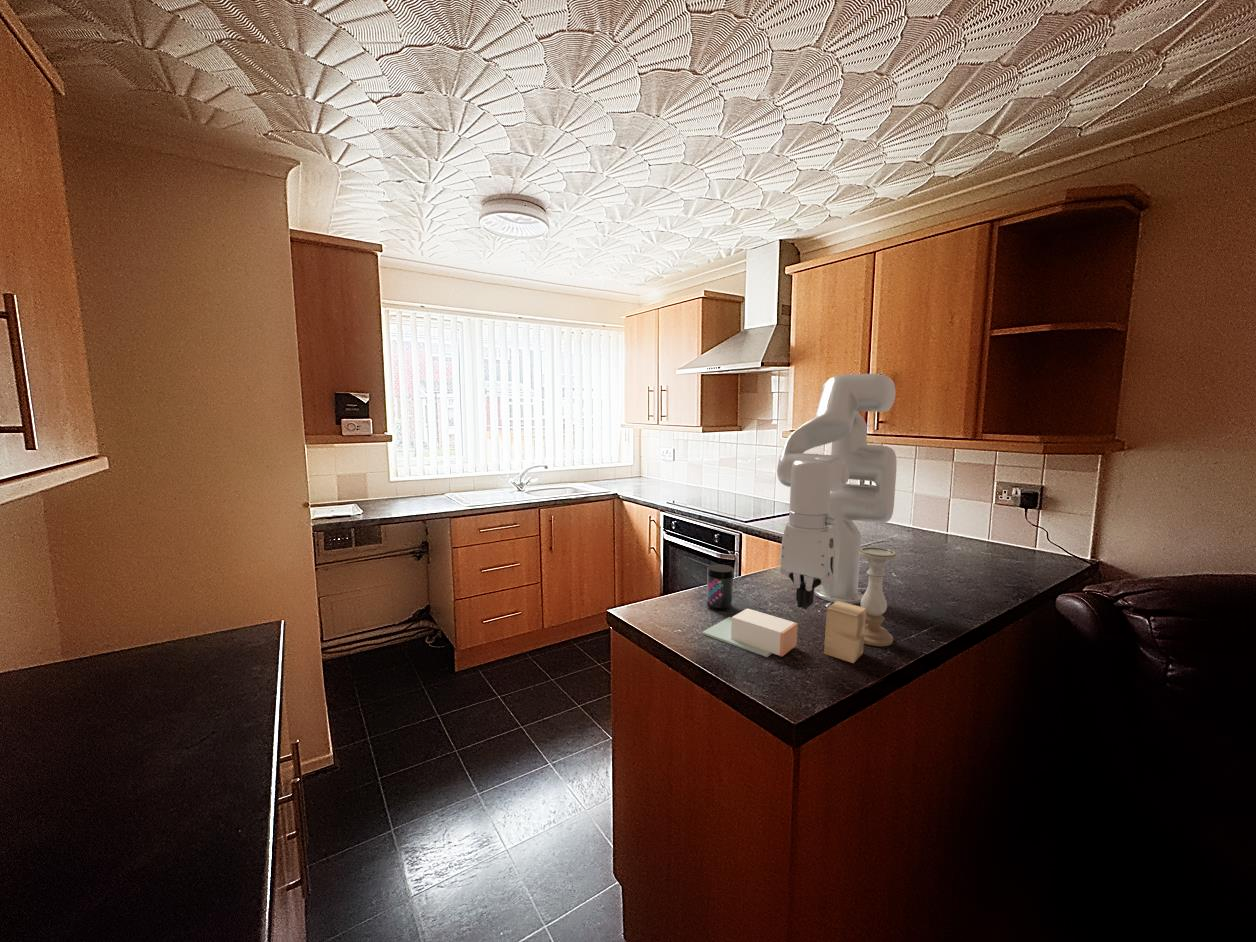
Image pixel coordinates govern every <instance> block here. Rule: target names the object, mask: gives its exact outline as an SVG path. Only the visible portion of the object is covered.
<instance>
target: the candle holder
mask: <svg viewBox="0 0 1256 942" xmlns="http://www.w3.org/2000/svg"><path fill="white" fill-rule="evenodd" d="M859 554H860V556H861V557H864V558H866V562H867V563H868V565H869V569H868V570H866V574H867V576H868V583H867V588H866V590H865V591H864V593H863V596H862V599H861V602H860V603H859V604H860V607H864V608H866V617H865V631H864V645H867V646H871V647H872V646H873V647H887V646H888V647H889V646H891V645H892V644H893V642H894V637H893V635H892V634H891V633H889V632H888V629H886V628H884V627H883V626H881V625H882V623H883V622H884V621H885V616H884V615H883V614H884V613H885V612H887V610H888V609H887V608H888V602H887V600H886V598H885V595H884V591H883V578H884V577H886V573H885V572H884V567H885V566H886V564H888V561H893V560H895V559H897V552H896V551H894V550H891V549H888V548H882V547H877V546H863V547H861V548H860V549H859Z"/></svg>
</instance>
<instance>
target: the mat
mask: <svg viewBox="0 0 1256 942" xmlns="http://www.w3.org/2000/svg"><path fill="white" fill-rule="evenodd" d="M732 617H733V616H732ZM732 617H731V616H728V617H727V618H724V619H723V620H721V621H719V622H718V623H715V624H714V625H712V626H710V627H708V628H707V629H705V630H703V631H702V632H701V634H702V635H704V636H707V637H709V638H712V639H715V640H718V641H721V642H723V643H726V644H729V645H732V646H734V647H738V648H740V649H743V650H745V651H749V652H751V653H754V654H757V655H760V656H762V657H765V658H768V657H769V656H771V655H772V654H773V653H770V652H768V651H765V650H762V649H759V648H756V647H753V646H750V645H748V644H745V643H742V642H739V641H736V640H733V639H731V626H732Z"/></svg>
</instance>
